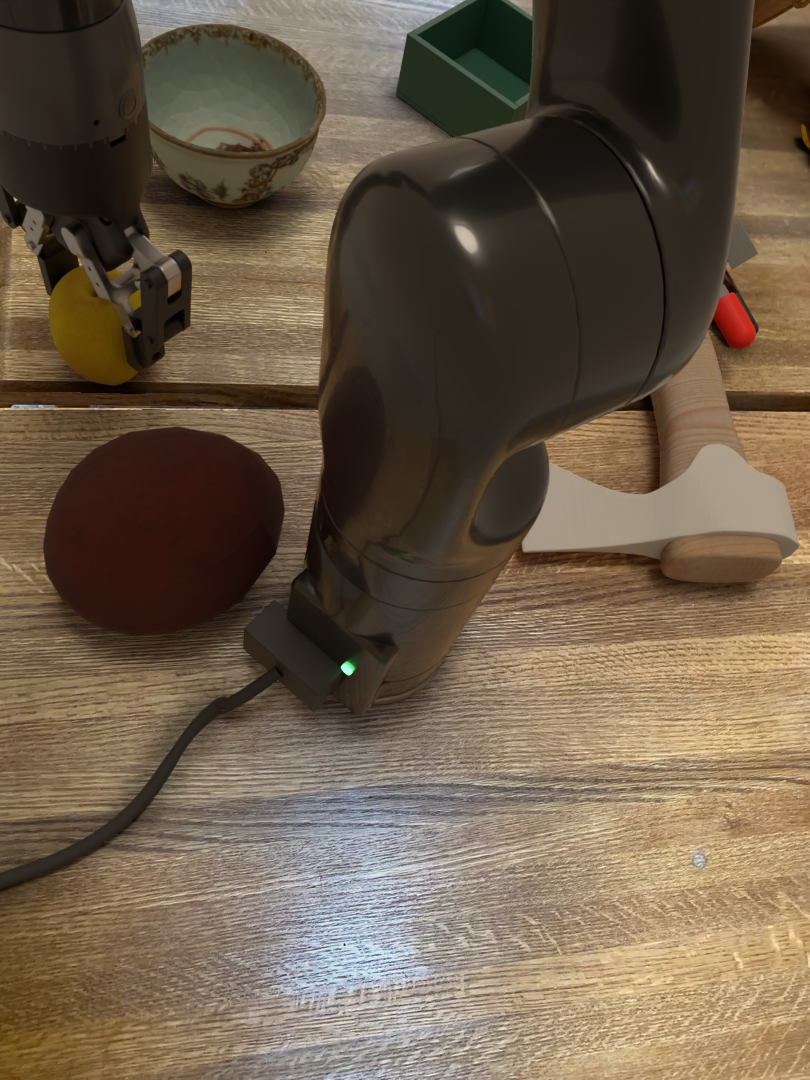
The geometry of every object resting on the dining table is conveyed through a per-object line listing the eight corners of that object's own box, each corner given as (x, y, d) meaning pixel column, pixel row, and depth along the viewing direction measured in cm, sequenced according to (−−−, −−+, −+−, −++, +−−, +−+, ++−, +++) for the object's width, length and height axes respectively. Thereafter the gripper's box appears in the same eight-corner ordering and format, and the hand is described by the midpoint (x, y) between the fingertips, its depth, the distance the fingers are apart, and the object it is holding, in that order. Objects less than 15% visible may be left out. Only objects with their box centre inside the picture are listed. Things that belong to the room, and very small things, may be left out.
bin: (495, 168, 72) (514, 109, 67) (395, 95, 74) (406, 33, 69) (568, 113, 77) (591, 56, 72) (472, 46, 79) (488, -14, 74)
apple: (155, 410, 55) (144, 328, 48) (51, 399, 54) (25, 314, 47) (168, 333, 58) (159, 245, 51) (70, 321, 57) (47, 230, 50)
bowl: (334, 147, 69) (345, 54, 62) (295, 265, 63) (303, 176, 56) (167, 101, 68) (159, 1, 61) (110, 216, 62) (95, 119, 55)
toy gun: (646, 214, 61) (709, 170, 59) (699, 283, 71) (756, 248, 68) (701, 320, 57) (771, 277, 55) (749, 378, 67) (811, 344, 64)
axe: (731, 208, 66) (821, 554, 52) (705, 259, 71) (782, 590, 57) (502, 196, 65) (532, 547, 51) (491, 249, 70) (516, 584, 56)
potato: (68, 659, 39) (99, 681, 49) (332, 548, 43) (311, 589, 52) (-20, 445, 40) (27, 508, 50) (241, 356, 44) (237, 431, 54)
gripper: (-122, 25, 38) (-24, 289, 53) (103, 210, 36) (140, 432, 50) (19, -31, 41) (75, 232, 56) (233, 134, 39) (232, 364, 54)
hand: (105, 326), depth 53 cm, fingers closed on apple, 6 cm apart
